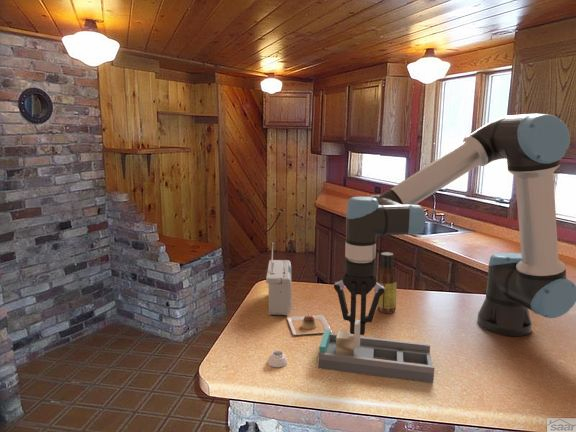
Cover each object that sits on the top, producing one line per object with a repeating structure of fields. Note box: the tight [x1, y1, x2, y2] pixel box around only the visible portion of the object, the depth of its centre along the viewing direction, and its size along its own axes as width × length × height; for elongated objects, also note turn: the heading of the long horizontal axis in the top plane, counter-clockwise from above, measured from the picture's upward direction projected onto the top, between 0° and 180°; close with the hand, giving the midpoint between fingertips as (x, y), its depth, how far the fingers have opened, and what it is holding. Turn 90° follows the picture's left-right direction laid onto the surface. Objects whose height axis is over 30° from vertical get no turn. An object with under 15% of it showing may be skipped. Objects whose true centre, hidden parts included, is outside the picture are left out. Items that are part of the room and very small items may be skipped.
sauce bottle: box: [376, 251, 397, 314], centre depth 143 cm, size 6×6×20 cm
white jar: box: [267, 349, 288, 368], centre depth 112 cm, size 5×3×5 cm
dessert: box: [286, 313, 333, 336], centre depth 133 cm, size 12×12×5 cm
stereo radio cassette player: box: [265, 242, 292, 317], centre depth 148 cm, size 21×8×20 cm, turn 179°
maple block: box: [336, 329, 355, 356], centre depth 113 cm, size 4×4×4 cm
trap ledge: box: [317, 328, 435, 384], centre depth 112 cm, size 28×12×6 cm, turn 77°
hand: (356, 345), depth 113 cm, fingers closed
